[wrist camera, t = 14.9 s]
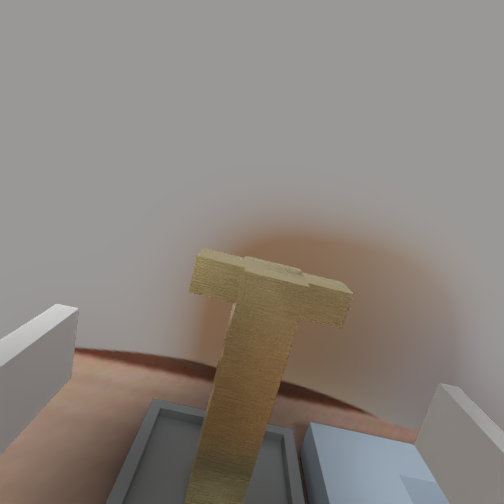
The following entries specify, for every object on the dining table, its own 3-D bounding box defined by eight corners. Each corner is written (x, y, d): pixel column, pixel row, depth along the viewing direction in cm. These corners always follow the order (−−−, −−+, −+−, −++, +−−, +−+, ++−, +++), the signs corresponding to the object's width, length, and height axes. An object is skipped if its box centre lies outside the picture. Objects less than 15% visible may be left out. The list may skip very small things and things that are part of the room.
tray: (288, 441, 32) (292, 429, 32) (315, 635, 18) (323, 617, 18) (150, 411, 31) (153, 398, 31) (71, 590, 18) (74, 570, 17)
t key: (274, 478, 27) (339, 279, 23) (278, 528, 23) (357, 298, 19) (157, 453, 26) (204, 245, 23) (140, 501, 22) (194, 259, 19)
